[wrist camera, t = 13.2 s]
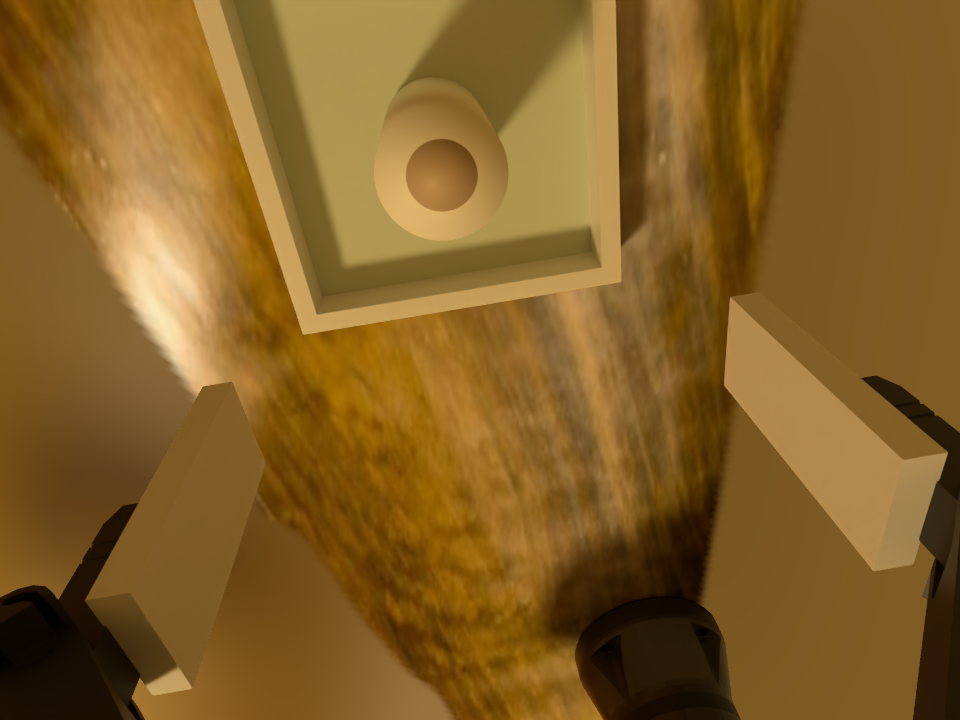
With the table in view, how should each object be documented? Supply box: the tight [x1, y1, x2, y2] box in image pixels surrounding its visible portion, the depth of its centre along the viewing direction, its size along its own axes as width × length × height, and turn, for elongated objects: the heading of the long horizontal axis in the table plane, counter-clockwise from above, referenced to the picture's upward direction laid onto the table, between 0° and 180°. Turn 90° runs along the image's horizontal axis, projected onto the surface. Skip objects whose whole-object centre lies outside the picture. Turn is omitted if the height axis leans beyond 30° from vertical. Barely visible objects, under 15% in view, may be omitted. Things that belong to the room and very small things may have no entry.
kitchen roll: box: [374, 76, 509, 241], centre depth 32 cm, size 6×6×10 cm
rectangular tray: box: [193, 0, 621, 335], centre depth 35 cm, size 20×20×4 cm
